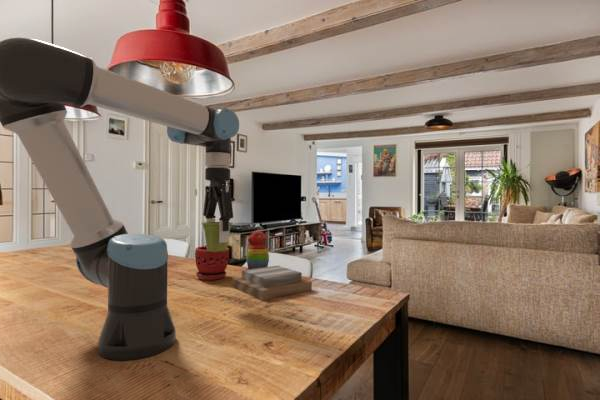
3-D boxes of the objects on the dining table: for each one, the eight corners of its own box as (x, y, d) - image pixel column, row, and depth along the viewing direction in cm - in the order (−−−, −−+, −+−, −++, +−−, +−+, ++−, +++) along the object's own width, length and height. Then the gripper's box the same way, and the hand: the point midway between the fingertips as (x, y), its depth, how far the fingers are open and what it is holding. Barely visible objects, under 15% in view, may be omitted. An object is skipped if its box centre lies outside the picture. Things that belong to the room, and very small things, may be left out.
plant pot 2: (211, 283, 129) (211, 250, 129) (188, 278, 136) (188, 247, 136) (236, 276, 140) (236, 246, 140) (213, 272, 147) (213, 244, 147)
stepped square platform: (311, 290, 120) (311, 272, 120) (261, 300, 108) (261, 281, 108) (279, 279, 136) (279, 263, 136) (232, 286, 124) (232, 270, 124)
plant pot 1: (195, 252, 103) (196, 223, 103) (208, 248, 112) (209, 221, 112) (226, 253, 102) (226, 223, 102) (236, 249, 111) (236, 221, 111)
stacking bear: (251, 270, 152) (251, 229, 152) (273, 271, 149) (273, 230, 149) (240, 275, 142) (240, 231, 142) (262, 277, 139) (262, 232, 139)
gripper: (245, 166, 100) (244, 243, 101) (214, 170, 118) (214, 236, 118) (221, 164, 96) (220, 245, 96) (193, 169, 114) (192, 237, 114)
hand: (217, 240), depth 107 cm, fingers closed on plant pot 1, 9 cm apart
